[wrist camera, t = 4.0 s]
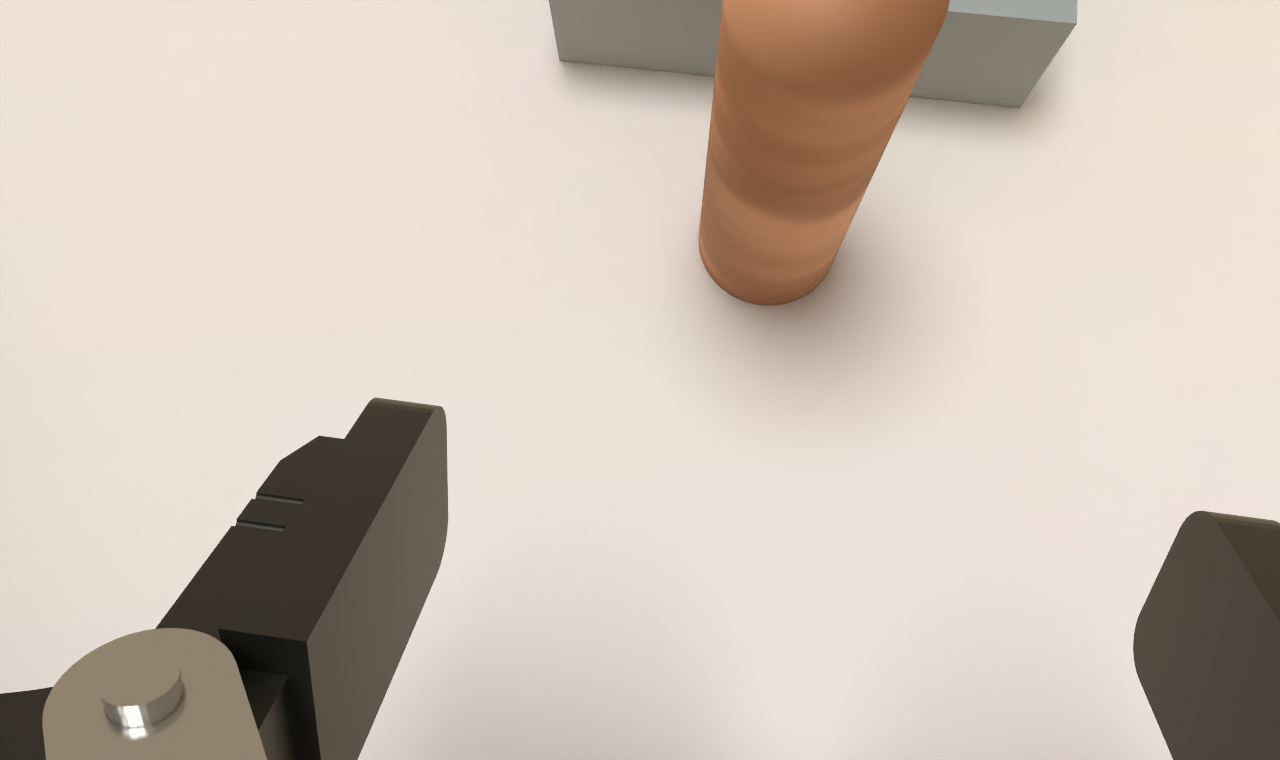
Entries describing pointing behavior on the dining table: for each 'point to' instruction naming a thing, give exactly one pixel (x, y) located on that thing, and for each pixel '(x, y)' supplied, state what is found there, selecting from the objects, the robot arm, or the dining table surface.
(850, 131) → the dowel
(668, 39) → the pocket block
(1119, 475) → the dining table surface
